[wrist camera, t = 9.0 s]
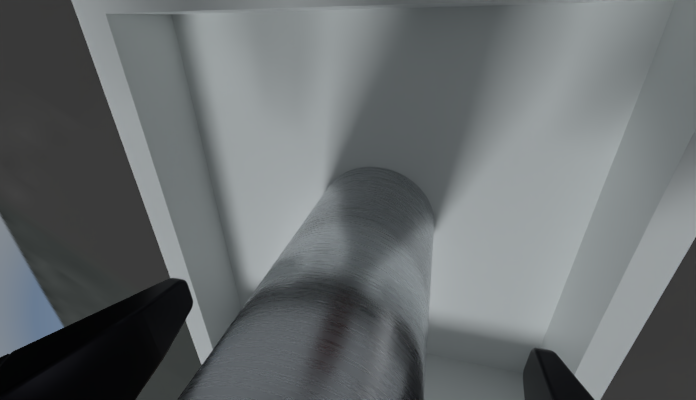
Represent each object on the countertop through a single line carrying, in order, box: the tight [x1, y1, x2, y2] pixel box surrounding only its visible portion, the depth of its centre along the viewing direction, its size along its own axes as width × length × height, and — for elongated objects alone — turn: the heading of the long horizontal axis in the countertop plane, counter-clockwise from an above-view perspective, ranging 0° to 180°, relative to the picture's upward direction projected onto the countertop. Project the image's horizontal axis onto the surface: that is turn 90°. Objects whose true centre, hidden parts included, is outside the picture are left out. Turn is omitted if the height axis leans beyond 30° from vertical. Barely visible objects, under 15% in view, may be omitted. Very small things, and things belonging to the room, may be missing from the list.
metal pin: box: [178, 167, 434, 400], centre depth 8 cm, size 5×5×10 cm
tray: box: [72, 0, 696, 400], centre depth 12 cm, size 16×16×3 cm
